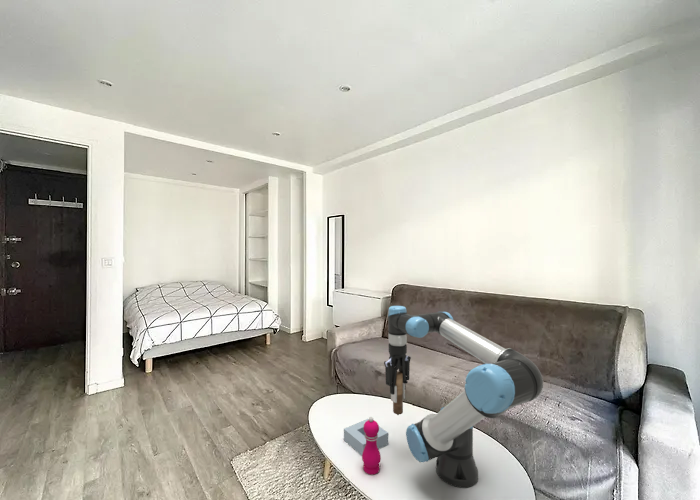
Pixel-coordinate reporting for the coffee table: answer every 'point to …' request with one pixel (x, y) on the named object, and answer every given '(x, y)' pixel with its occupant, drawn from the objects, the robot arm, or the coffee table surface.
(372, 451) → the pepper mill
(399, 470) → the coffee table surface
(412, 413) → the coffee table surface
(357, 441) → the bore block
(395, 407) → the dowel
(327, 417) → the coffee table surface
